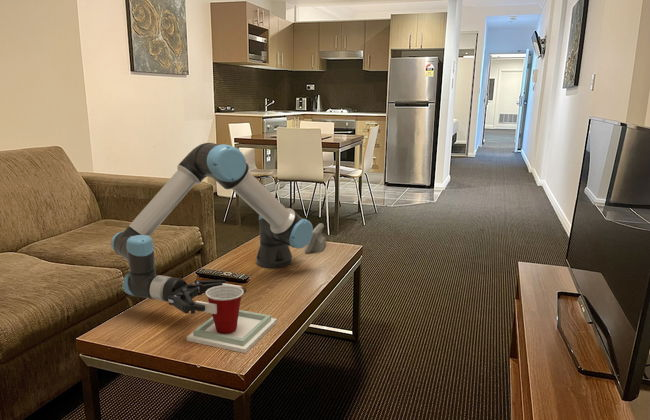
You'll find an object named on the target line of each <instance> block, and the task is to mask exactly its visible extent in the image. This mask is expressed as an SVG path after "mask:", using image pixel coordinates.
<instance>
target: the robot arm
mask: <svg viewBox="0 0 650 420" xmlns="http://www.w3.org/2000/svg"><path fill="white" fill-rule="evenodd" d="M176 167H177V171H175V173H173V174H172V176H171V178H169V179H168V180H167V182H166V183H164V185H163V186H162V187H161V189H160V190H159V191H158V192H157V193H156V195H154V197H153V198H151V200H150V201H149V202H148V204H146V205H145V206H144V208H143V209H142V210H141V211H140V213H139V214H137V216H136V217H135V218H134V219H133V220H132V221H131V223H130V224H129V225H128V226H127V227H126V228H125V230H124V231H120V232H119V231H118V232H117V233H115V234H114V235H113V236H112V238H111V241H110V245H111V248H112V250H113V251H114V253H116V254H117V255H118V256H120V257H122V258H123V260H126V261H127V262H128V270H129V272H128V273H127V274H126V275H125V276H124V277H123V282H122V290H123V291H124V292H125V294H127V295H129V296H133V297H136V298H144V299H151V300H155V301H156V300H157V301H161V302H167V303H168V305H170V306H173V307H175V308H176V309H177V310H179V311H181V312H182V313H184V314H186V315H187V314H190V315H193V314H195V313H196V312H202V313H206V314H207V313H208V314H211V315H212V314H217V304H213V303H209V302H208V301H207V302H206V301H200V300H196V301H194V300H193V299H194V298H195V297H199V296H202V295H203V294H206V291H207V290H208V289H210V288H212V287H216V286H222V285H230V286H236V287H240V288H241V289H242V287H243V286H242V285H237V284H236V285H235V284H231V283H227V281H226V279H214V280H213V279H211V280H210V279H207V280H197V279H195V280H194V281H193V283H187V282H186V281H185V280H184V279H183V278H178V277H174V276H173V277H171V276H167V275H161V274H160V275H159V274H156V265H155V264H156V263H155V251H154V250H155V247H154V242H153V238H152V237H151V236H152V234H154V232H155V231H156V230H157V229H158V228H159V226H161V224H162V223H163V222H164V221H165V220H166V219H167V218H168V216H169V215H170V214H171V213H172V212H173V210H174V209H175V208H176V207H177V206H178V205H179V204H180V202H181V201H182V200H183V199H184V197H186V195H187V194H188V193H189V192H190V191H191V190H192V188H193V187H194V186H195V185H199V184H200V183H202V181H203V180H205V178H207V177H209V178H212V179H213V180H214V181H215V182H217V183H218V184H219V185H220V186H221V187H222V188H223V189H224V190H232V191H233V192H234V193H235V194H236V195H238V197H239V198H241V200H243V201H244V202H245V203H246V204H247V205H248V206H249V207H250V208H251V209H252V210H253V211H255V212H256V213H257V214H258V224H259V225H258V226H259V227H258V228H259V229H258V231H259V246H258V251H257V255H256V259H255V260H256V262H255V263H256V265H258V266H259V267H263V268H267V269H278V268H285V267H287V266H290V265H291V264H292V263H293V254H292V252H291V249H290V247H291V248H293V249H303V248H304V247H305V248H306V246H307V244H308V243H309V242H310V240H311V238H312V235H313V230H314V227H313V224H312V222H311V221H310V220H308V219H306V218H303V217H301V216H300V215H299V214H298V213H297V212H296V210H294V209H292V208H290V207H287V208H286V206H284V205H283V203H281V202H280V201H279V200H278V199H277V198H276V197H275V196H274V195H273V194H272V193H271V192H270V191H269V190H268V189H267V188H266V187H265V186H264V185H263V184H262V183H261V182H260V181H259V180H258V179H257V178H256V177H255V176H254V175H253V174H252V173H251V171H250V166H249V164H248V163H247V162H246V157H245V155H244V153H243V152H242V151H241V150H240V149H239V148H237V147H234V146H232V145H230V144H225V143H224V144H223V143H222V144H220V143H213V142H204V143H201V144H199V145H197V146H196V147H194V148H193V149H192V150H191V151H189V153H187V155H186V156H185V157H184V158H183V159H182V160H181V161H180V162H179V163H178V165H177V166H176ZM198 290H200V291H198ZM194 302H195V304H194Z"/></svg>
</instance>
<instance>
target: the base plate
mask: <svg viewBox="0 0 650 420" xmlns="http://www.w3.org/2000/svg"><path fill="white" fill-rule="evenodd" d="M277 323H278V319H277V318H274V317H272V315H271V314H265V313H259V312H253V311H249V310H242V309H239V316H238V322H237V328H236V330H235V331H234V332H231V333H227V334H221V333H218V332H217V330H216V327H215V323H214V320H213V316H212V315H211V317H210V318H208V319H207V320H205V321H204V322H203V323H201V324H200V325H199V326H197V327H196V328H195V329H194V330H193V331H192V332H191V333H190V334H188V335H187V336H186V341H187V342H191V343H196V344H200V345H206V346H209V347H215V348H218V349H225V350H228V351H233V352H237V353H242V354H247V353H248V352H249V350H251V349H252V347H254V346H255V345H256V344H257V343H258V342H259V341H260V340H261V339H262V338H263V337H264V336H265V335H266V334H267V333H268V332H269V331H270V330H271V329H272V328H273V327H274V326H275V325H276V324H277Z"/></svg>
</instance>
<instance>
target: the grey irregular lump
mask: <svg viewBox="0 0 650 420" xmlns="http://www.w3.org/2000/svg"><path fill="white" fill-rule="evenodd" d="M324 226H325V225H324V223H323V222H321V223H318V224H317V225H316V226H315V227H314V228H313V235H312V238H311V240H310V242H309V243H308V244H307V245H306V246H305V250H304V252H305V253H306V254H311V253H322V252H323V250H324V249H325V248H326V241H327V240H326V237H325V236H324V235H323V230H324Z"/></svg>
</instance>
